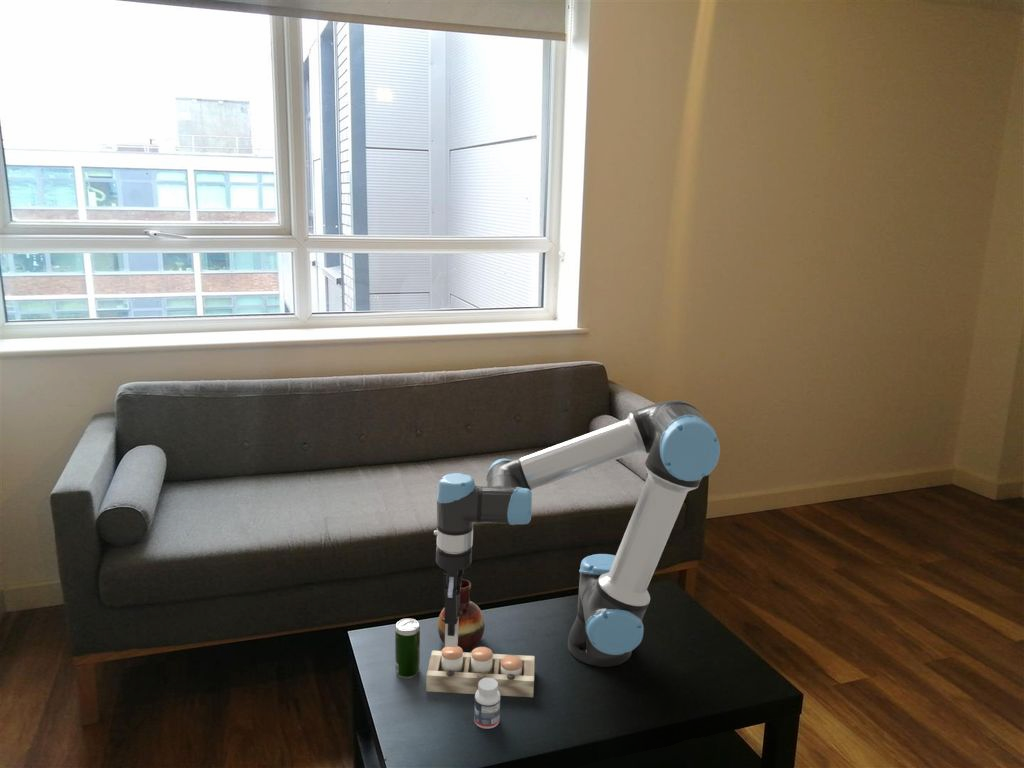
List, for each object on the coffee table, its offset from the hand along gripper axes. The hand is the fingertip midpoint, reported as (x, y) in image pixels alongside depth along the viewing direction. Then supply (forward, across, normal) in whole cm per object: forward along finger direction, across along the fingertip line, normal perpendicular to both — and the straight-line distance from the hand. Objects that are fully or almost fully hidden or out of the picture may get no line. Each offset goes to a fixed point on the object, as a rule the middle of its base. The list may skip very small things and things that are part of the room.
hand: (451, 644), depth 173 cm
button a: (+8, 0, +13) cm, 15 cm away
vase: (+9, -14, +1) cm, 17 cm away
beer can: (+9, -2, -10) cm, 13 cm away
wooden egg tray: (+9, 0, +7) cm, 11 cm away
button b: (+6, 0, +7) cm, 9 cm away
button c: (+6, 0, 0) cm, 6 cm away
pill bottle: (+9, +13, +9) cm, 18 cm away
